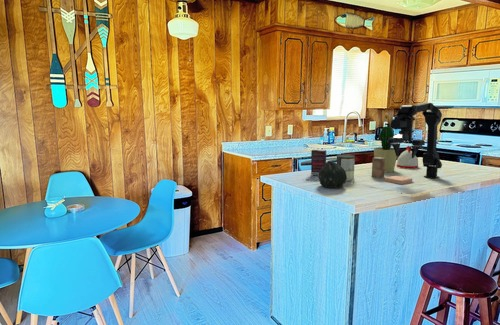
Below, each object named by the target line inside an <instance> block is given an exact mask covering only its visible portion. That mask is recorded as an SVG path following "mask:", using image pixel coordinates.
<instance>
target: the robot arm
mask: <svg viewBox="0 0 500 325" xmlns="http://www.w3.org/2000/svg"><path fill="white" fill-rule="evenodd" d="M418 113H422V115H423V117H424V122H425V125H426V126H427V137H426V138H427V139H426V142H425V140H424V139H414V138H413V133H414V130H413V122H414V121H415V120H416V119H415V116H416V115H417V114H418ZM442 117H443V113H442V111H441V110H440V108H439V107H437V106H435V105H434V103H432V102H423V103H419V104H415V105H412V104H411V105H410V104H409V105H407V104H405V105H401V106H400V108H399V109H398V111H397V114H396V115H395V116H394V118H393V119H392V120H391V121H390V127H391V129H393V130H399V131H398V133H397V134H396V135H395V134H394V135H393V136H394V137H393V138H389V139H388V143H391V144H390V145H391V146H392V148H394V150H395V154H396V156H397V157H399V156H400V155H399V154H400V148H401V144H411V146H410V148H411V151H412V158H414V156H416V154H417V153H418V152H419V150H420V148H422V147H423V146H425V145H426V151H425V152H424V153H423V154H422V159H421V160H422V166H423V167H424V168H426V172H425V175H423V177H424V178H427V179H433V180H434V179H438V178H440V176H438V169H441V168H442V166H443V164H442V162H441V159H440V154H439V153H438V150H437V142H438V141H437V140H438V126H439V124H440V123H441V121H442Z"/></svg>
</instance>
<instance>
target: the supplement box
mask: <svg viewBox="0 0 500 325" xmlns="http://www.w3.org/2000/svg"><path fill="white" fill-rule="evenodd" d="M310 156H311V158H310V159H311V160H310V161H311V162H310V163H311V164H310V166H311V167H310V168H311V169H310V170H311V171H310V174H311V175H310V176H313V175H318V176H319V172H320V170H321V168H322V167H323V166H324V165H325V164H326V163H327V150H326V149H325V150H324V149H311V154H310ZM318 176H317V177H318Z"/></svg>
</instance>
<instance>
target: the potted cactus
mask: <svg viewBox="0 0 500 325" xmlns="http://www.w3.org/2000/svg"><path fill="white" fill-rule="evenodd" d="M393 130H394V129H393V128H392V127H391V126H390V125H389V126H386V125H385V126H383V127H382V128H381V129H380V131H379V136H378V138H379V139H378V140H379V142H380V144H381V147H374V148H373V155H374V157H373V158H375V157H381V158H385V172H384V173H394V171H395V167H396V165H397V159H398V156H396V154H395V150H394V148H393V146H392V145H390V144H391V143H388V139H389V138H393V137H394V136H395V135H394V131H393Z"/></svg>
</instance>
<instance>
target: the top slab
mask: <svg viewBox="0 0 500 325" xmlns="http://www.w3.org/2000/svg"><path fill="white" fill-rule="evenodd" d="M413 179H414V178H412V177H407V176H401V175H394V176H393V175H392V176H387V177H385V178H384V181H387V182H386V183H389V182H392V183H391V184H394V183H397V184H396V185H399V184H405V183H409V184H411V183H410V182H413ZM405 185H406V184H405Z"/></svg>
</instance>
